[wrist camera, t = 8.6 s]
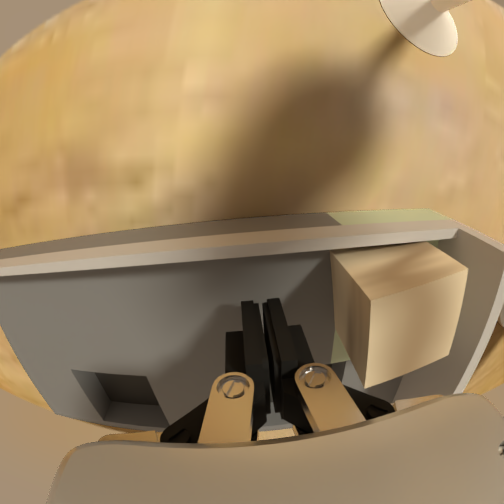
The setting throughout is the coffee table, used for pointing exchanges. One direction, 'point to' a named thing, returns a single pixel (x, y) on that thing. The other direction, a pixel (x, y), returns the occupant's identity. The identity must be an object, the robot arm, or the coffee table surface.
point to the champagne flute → (425, 23)
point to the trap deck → (214, 308)
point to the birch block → (395, 306)
